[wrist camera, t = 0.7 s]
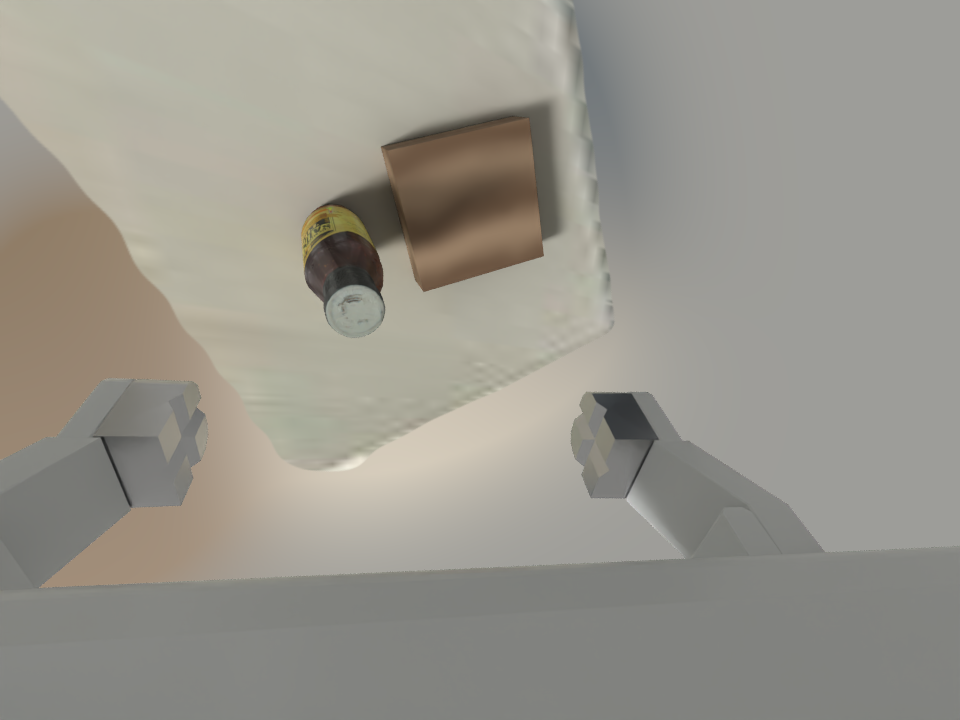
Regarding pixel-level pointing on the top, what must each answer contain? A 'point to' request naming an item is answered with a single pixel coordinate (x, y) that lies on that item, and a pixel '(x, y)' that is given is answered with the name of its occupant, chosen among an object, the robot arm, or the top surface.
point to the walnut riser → (466, 200)
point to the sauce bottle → (343, 270)
